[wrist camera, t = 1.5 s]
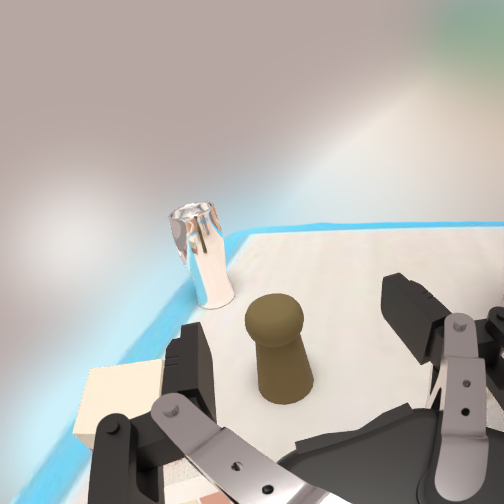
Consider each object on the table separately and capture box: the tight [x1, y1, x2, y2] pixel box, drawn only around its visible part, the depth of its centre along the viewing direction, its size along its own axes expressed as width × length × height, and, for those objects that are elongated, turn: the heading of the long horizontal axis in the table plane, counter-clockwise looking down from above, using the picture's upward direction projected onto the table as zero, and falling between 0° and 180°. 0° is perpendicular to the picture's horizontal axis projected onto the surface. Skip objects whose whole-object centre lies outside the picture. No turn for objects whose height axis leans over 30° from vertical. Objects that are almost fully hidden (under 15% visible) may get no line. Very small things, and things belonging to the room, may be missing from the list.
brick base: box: [73, 358, 182, 460], centre depth 25 cm, size 9×9×6 cm
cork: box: [245, 294, 314, 404], centre depth 28 cm, size 6×6×11 cm
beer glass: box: [169, 201, 234, 309], centre depth 44 cm, size 7×7×15 cm
